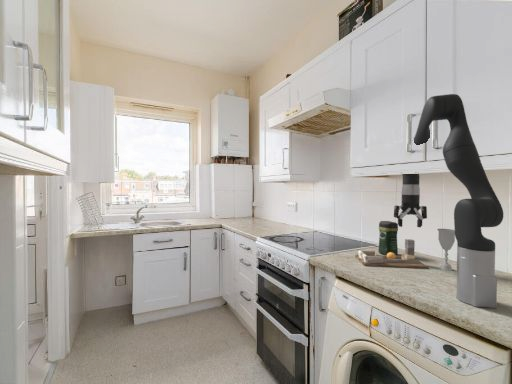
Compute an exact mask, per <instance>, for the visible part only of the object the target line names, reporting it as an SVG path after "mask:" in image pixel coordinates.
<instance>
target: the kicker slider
mask: <svg viewBox="0 0 512 384" xmlns="http://www.w3.org/2000/svg"><path fill="white" fill-rule="evenodd" d="M415 244H416V243H415V240H414V239H408V238H406V239H404V252H401V256H402V259H403V260H416V255H415V246H416V245H415Z"/></svg>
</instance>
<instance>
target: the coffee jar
mask: <svg viewBox="0 0 512 384" xmlns="http://www.w3.org/2000/svg"><path fill="white" fill-rule="evenodd" d="M378 230H379V236H378V237H379V239H378V251H377V252H378V253H379V254H380V255H387V254H388V253H389V252H392V253H394V254H395V255H396V256H399V255H398V254H399V253H398V252H399V251H398V249H399V248H398V231H399V225H398V222H395V221H390V220H380V222H379V224H378Z"/></svg>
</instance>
